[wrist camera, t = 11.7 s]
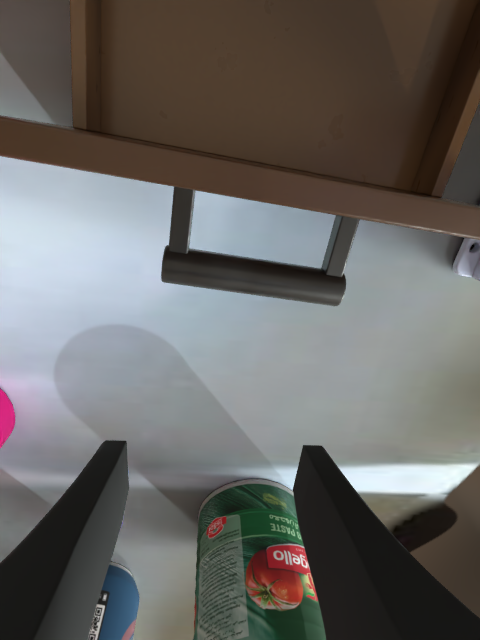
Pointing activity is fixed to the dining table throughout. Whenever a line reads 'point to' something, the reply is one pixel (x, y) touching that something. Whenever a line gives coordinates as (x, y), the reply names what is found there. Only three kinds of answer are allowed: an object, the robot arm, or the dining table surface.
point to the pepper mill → (6, 417)
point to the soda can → (116, 606)
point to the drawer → (272, 118)
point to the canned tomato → (253, 567)
